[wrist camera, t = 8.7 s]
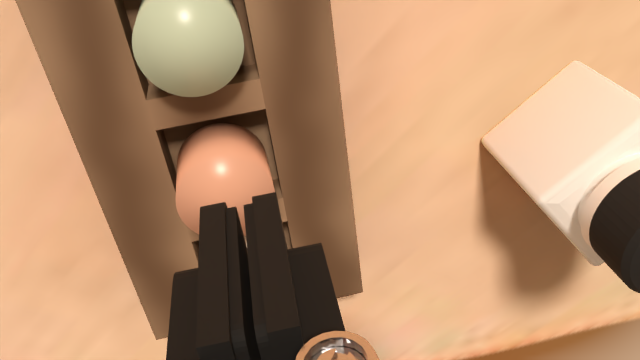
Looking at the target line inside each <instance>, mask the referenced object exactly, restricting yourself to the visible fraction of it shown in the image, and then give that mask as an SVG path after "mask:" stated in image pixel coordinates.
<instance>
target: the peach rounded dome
mask: <svg viewBox="0 0 640 360" xmlns="http://www.w3.org/2000/svg"><path fill="white" fill-rule="evenodd" d="M273 192H275V189H274V185H273V181H272V176H271V172H270V168H269V163H268V159H267V154H266V151H265V148H264V146H263V144H262V143H261V141H260V140H259V139H258V137H257V136H256V135H255V134H253V133H252V132H251V131H249V130H248V129H246V128H244V127H241V126H238V125H235V124H229V123H217V124H211V125H207V126H205V127H202V128H200V129H198V130H196V131H195V132H194V133H192V134H191V135H190V136H189V137H188V138H187V139H186V140H185V141H184V143H183V144H182V146H181V148H180V150H179V153H178V157H177V176H176V208H177V212H178V214H179V216H180V218H181V220H182V221H183V222H184V224H185V225H186V226H187V227H188V228H190V229H191V230H192V231H194V232H195V233H197V234H199V220H200V207H202V206H207V205H212V204H217V203H222V202H225V203H226V205H227V208H231V207H236V208H237V211H238V214H239V218H240V222H241V226H242V230H243V234H244V236H246V229H245V218H244V205H246V204H251V203H252V197H253V196H258V195H263V194H268V193H273Z"/></svg>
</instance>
